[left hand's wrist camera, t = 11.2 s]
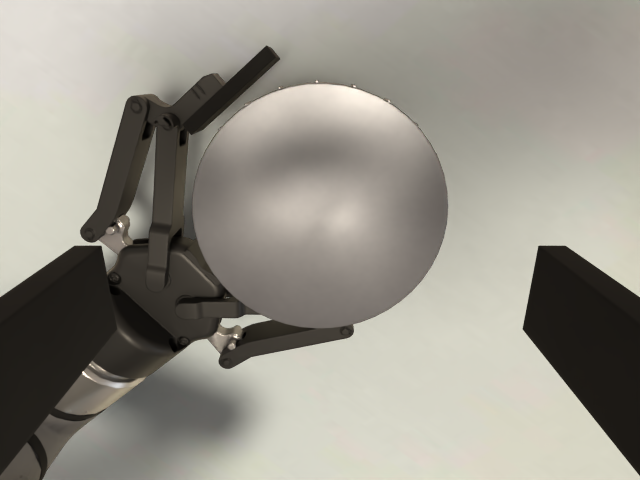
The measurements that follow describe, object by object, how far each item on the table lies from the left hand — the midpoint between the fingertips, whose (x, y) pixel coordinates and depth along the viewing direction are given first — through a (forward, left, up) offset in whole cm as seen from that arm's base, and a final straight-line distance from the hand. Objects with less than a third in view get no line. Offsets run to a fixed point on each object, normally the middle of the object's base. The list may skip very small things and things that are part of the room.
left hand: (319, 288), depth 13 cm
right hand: (-2, -2, -16) cm, 16 cm away
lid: (0, 0, -7) cm, 7 cm away
